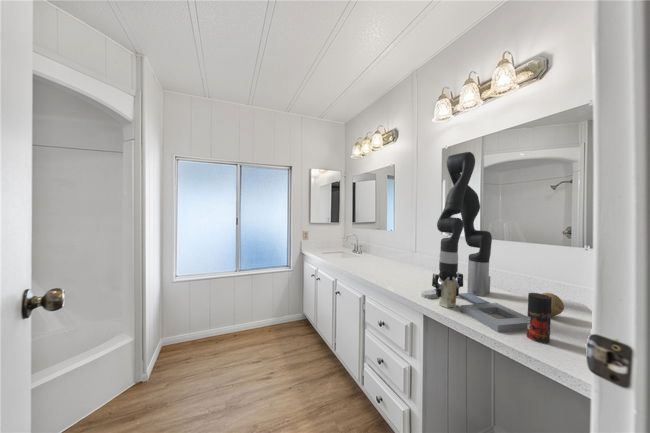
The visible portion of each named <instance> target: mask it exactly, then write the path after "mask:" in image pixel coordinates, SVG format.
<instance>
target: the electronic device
mask: <svg viewBox="0 0 650 433" xmlns="http://www.w3.org/2000/svg"><path fill="white" fill-rule="evenodd" d="M420 295H421V298H423V297H424V298H423V299H426V298H429V299H428V300H431V299H430V298H432V299H437V298H438V299H439V297H438V296H437V295H436V288H434V289H426V290H423V291H421V294H420Z"/></svg>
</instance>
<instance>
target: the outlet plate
mask: <svg viewBox="0 0 650 433" xmlns="http://www.w3.org/2000/svg"><path fill="white" fill-rule="evenodd" d="M460 311H461V312H462V313H463V314H466V315H467V316H469V317H471V318H472V319H474V320H476V321H477V322H480V323H481V324H483V325H485V326H486V327H488V328H490V329H492V330H494V331H495V332H497V333H501V332H513V331H522V330H527V315H524V314H523V313H521V312H518V311H516V310H514V309H511V308H509V307H507V306H505V305H502V304H501V303H498V302H490V303H486V304H473V303H471V304H461V305H460ZM494 313H496V314H498V315H500V316H502V317H505V318H500V319H497V318H496V317H493V316H492V315H489V314H494Z"/></svg>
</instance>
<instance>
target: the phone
mask: <svg viewBox="0 0 650 433" xmlns="http://www.w3.org/2000/svg"><path fill="white" fill-rule="evenodd" d="M457 297H459V298H461V299H462V300H465V301H467V302H468V303H470V304H486V303H491V302H489V301H487V300H485V299H483V298H481V297H478V295H473V294H470V293H469V292H464V293H463V292H462V293H459V294H458V296H457Z"/></svg>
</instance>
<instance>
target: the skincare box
mask: <svg viewBox="0 0 650 433" xmlns="http://www.w3.org/2000/svg"><path fill="white" fill-rule="evenodd" d="M439 279H440V278H439ZM456 281H457V279H456ZM440 282H443V281H442V280H441V279H440ZM438 300H439V301H438V305H439V306H441V307H444V308H445V309H449V308H453V307H457V304H456V302H457V296H456V284H455V282H454V281H453V280H448V281H446V284H445V285H444V286H443V287H442V288H441V297H438Z"/></svg>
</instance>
